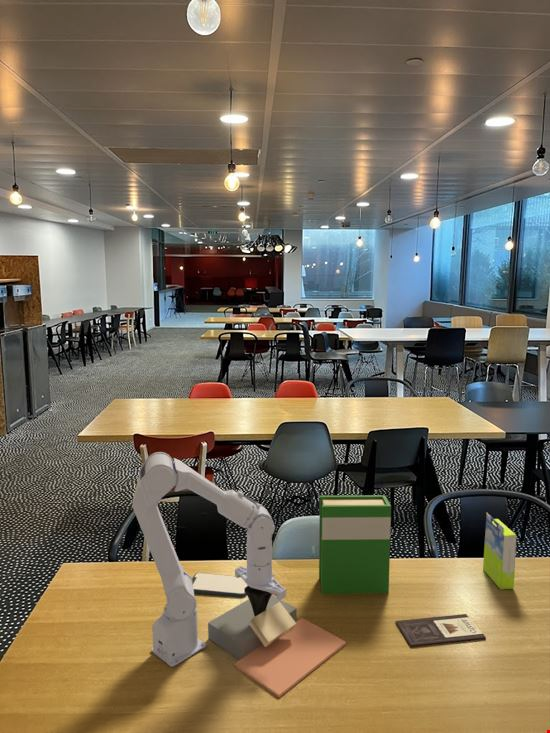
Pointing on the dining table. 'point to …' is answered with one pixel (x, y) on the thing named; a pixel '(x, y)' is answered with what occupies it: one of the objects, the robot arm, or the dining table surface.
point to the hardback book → (354, 544)
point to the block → (240, 628)
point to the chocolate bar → (439, 630)
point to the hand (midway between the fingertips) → (259, 616)
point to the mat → (290, 657)
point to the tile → (272, 624)
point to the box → (499, 553)
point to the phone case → (219, 585)
